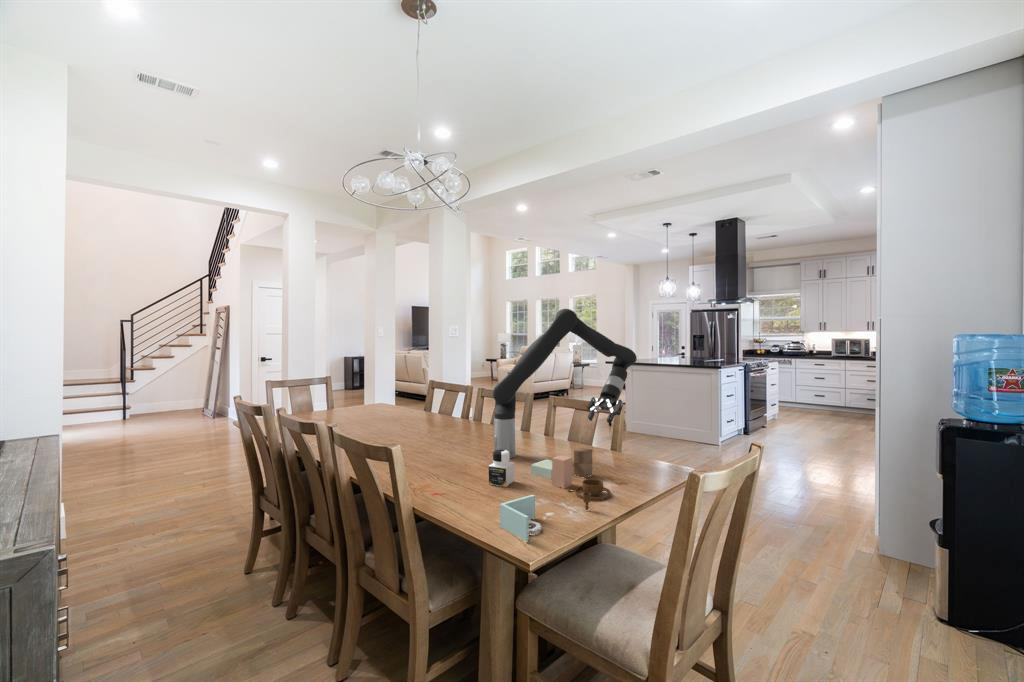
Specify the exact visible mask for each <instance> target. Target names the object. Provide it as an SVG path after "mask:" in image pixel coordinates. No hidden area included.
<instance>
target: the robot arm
mask: <svg viewBox="0 0 1024 682" xmlns="http://www.w3.org/2000/svg"><path fill="white" fill-rule="evenodd" d="M569 333H572V334H574V335H575V336H577V337H578V338H580V339H582V340H583V341H584V342H586V343H587V344H588V345H590V347H592V348H593V349H595V350H596V351H597V352H599V353H600V354H602V355H604V356H605V357H607V358H610V357H611V358H612V357H614V359H613V361H612V366H611V371H610V373H609V375H608V377H607V379H606V381H605V383H604V385H603V387H602V389H601V392H600V396H599V398H595V397H593V396H592V397H591V399H590V401H589V403H588V405H587V406H586V409H587V410H588V411H589V413H588V415H587V418H588V420H589V421H591V422H592V420H593V418H594V416H595V414H596V413H597V412H600V411H601V410H602V411H603V410H605V411H610V412H609V413H608V416H607V418H606V422H607V423H608V424H611V423H612V422H613V420H614V418H615V416H616V415H617V416H620V415H621V412H622V410H623V406H624V402H623V400H622V399H620V397H621V394H622V391H623V389H624V386H625V383H626V380H627V377H628V371H627V370H628V368H630V367H631V366H632V365H634V364H635V363H637V357H638V356H637V355H636V353H635V351H634V350H632V349H631V348H629V347H626V346H624V345H621V344H619V343H616V342H614V341H613V340H611V339H610V338H609V337H607V336H606V335H603V333H600V332H599V331H597V330H596V329H594V328H592V327H591V326H589V325H587V323H585V322H584V321H582V320H581V319H580V318H579V317H578V316H577V314H576V313H575V311H574V310H572V309H570V308H563V309H562V308H561V309H560V310H558V312H557V313H556V314H555V317H554V320H553V321H552V323H551V325H549V327H548V328H547V330H546V331H544V332H543V334H542V335H540V336H538V337H537V339H535V341H533V342H532V343H531V344H530V345H529V346H528V347H527V348H526V350H525V351H524V352H523V354H522V355H521V356H520V357H519V359H518V360H517V362H516V363H515V364H514V366H513V367H512V369H511V370H510V372H508V374H506V376H505V377H504V378H503V379H502V380H501V381H500V382H499V383H497V384H496V385H495V386H494V388H493V391H492V397H493V400H494V402H495V403H494V413H493V420H494V423H493V424H494V429H493V430H494V435H493V436H494V437H493V438H494V439H493V443H494V444H493V446H494V447H493V449H494V451H496V450H507V451H509V459H513V457H514V458H515V457H516V454H517V453H516V451H517V450H516V410H517V409H516V403H517V401H516V397H517V396H516V393H517V391H518V390H519V388H521V387H522V385H523V384H524V382H526V380H527V379H529V378H530V377H531V376H532V375H533V374H535V373H536V371H538V370H539V369H540V368H541V366H542V365H543V364H544V363H545V361H546V360H547V359H548V358H549V356H550V355H551V354H552V352H554V350H555V349H556V347H557V346H558V344H559V343H560V342H561V341H562V339H564V338H565V337H566V336H567V335H568V334H569ZM614 407H615V409H614ZM494 451H493V452H494Z"/></svg>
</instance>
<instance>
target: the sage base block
mask: <svg viewBox="0 0 1024 682" xmlns="http://www.w3.org/2000/svg"><path fill="white" fill-rule="evenodd" d="M532 474H534V475H533V476H536V475H538V476H537V477H540V476H542V477H541V478H544V477H546V478H545V479H548V478H550V479H549V480H552V459H544V460H541V461H538V462H535V463H532V464H531V465H530V475H532Z"/></svg>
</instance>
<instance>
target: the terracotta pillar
mask: <svg viewBox="0 0 1024 682" xmlns="http://www.w3.org/2000/svg"><path fill="white" fill-rule="evenodd" d="M572 459H573V458H572V457H570V456H565V455H561V454H560V455H557V456H554V457H552V459H551V460H552V479H551V480H552V487H555V486H557V487H556V488H559V487H561V488H560V489H563V488H565V489H566V487H567V488H569V487H571V486H572V485H573V474H572V473H573V469H572V468H573V467H572V466H573V465H572V462H573V460H572ZM570 485H571V486H570ZM568 486H569V487H568Z"/></svg>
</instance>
